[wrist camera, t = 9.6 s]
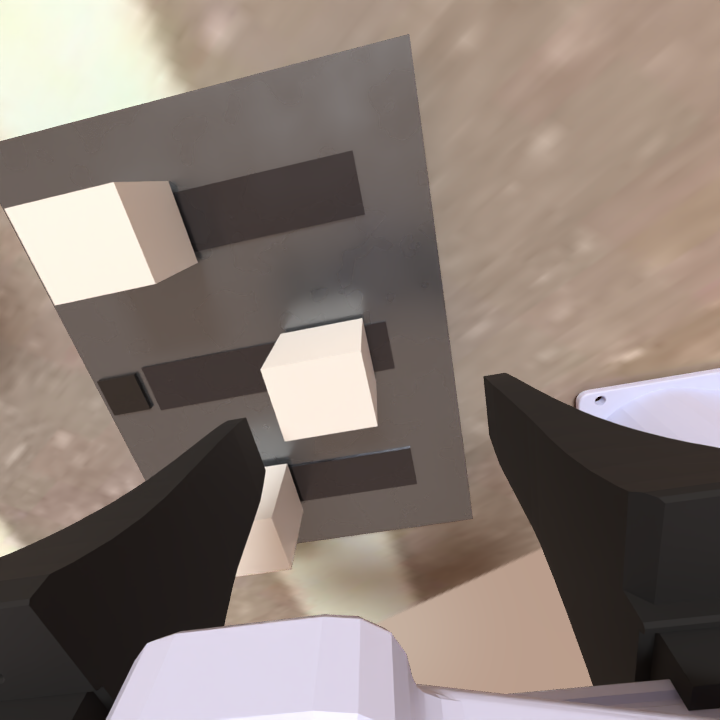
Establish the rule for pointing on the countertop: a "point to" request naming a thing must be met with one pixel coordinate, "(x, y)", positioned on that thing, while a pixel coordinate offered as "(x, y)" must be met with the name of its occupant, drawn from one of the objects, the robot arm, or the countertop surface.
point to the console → (276, 277)
